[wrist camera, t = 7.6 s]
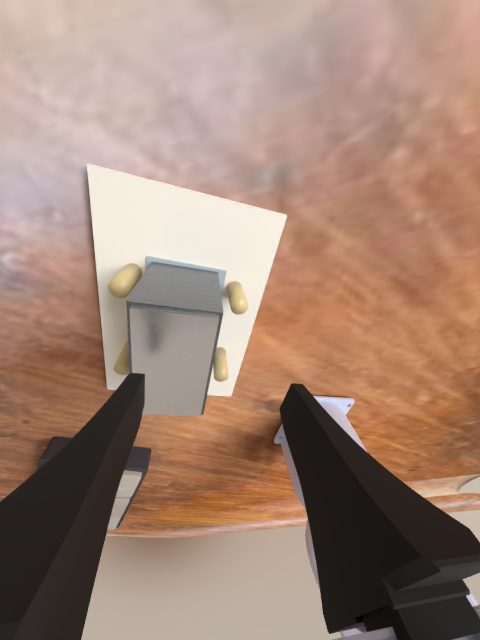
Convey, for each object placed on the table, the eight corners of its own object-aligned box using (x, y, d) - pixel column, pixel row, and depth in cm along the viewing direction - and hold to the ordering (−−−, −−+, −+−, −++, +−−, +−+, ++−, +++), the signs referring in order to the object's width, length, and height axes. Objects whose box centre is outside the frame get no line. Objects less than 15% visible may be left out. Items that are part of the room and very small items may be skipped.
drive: (204, 356, 20) (203, 418, 15) (151, 352, 19) (130, 416, 14) (218, 271, 16) (223, 315, 11) (152, 261, 15) (124, 303, 10)
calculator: (146, 477, 26) (116, 535, 31) (153, 441, 30) (125, 499, 35) (33, 467, 22) (22, 535, 28) (57, 428, 26) (43, 495, 32)
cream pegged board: (230, 388, 25) (234, 421, 21) (111, 381, 22) (93, 418, 19) (282, 213, 16) (303, 222, 12) (94, 164, 13) (55, 158, 10)
